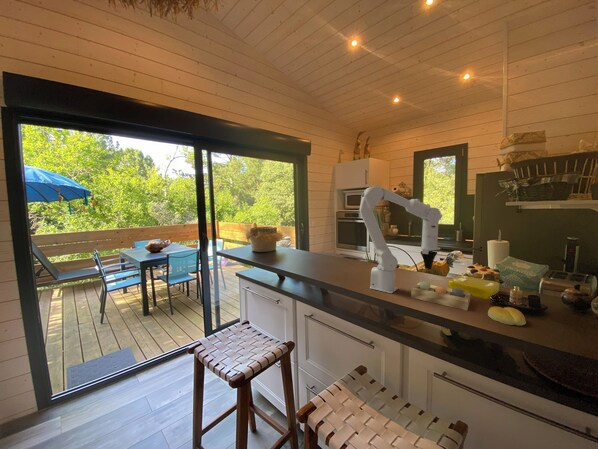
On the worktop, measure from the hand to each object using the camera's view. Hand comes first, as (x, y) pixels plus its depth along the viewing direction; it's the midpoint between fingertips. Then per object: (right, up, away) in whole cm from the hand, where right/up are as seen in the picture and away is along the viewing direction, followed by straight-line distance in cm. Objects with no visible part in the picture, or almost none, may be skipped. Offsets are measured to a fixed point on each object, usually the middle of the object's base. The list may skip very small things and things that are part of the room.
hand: (428, 268), depth 102 cm
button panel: (0, -10, -8) cm, 13 cm away
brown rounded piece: (0, -10, -9) cm, 13 cm away
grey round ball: (+4, -9, -12) cm, 16 cm away
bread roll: (+11, -12, -25) cm, 30 cm away
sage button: (-4, -8, -5) cm, 11 cm away
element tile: (+20, -10, +1) cm, 22 cm away
